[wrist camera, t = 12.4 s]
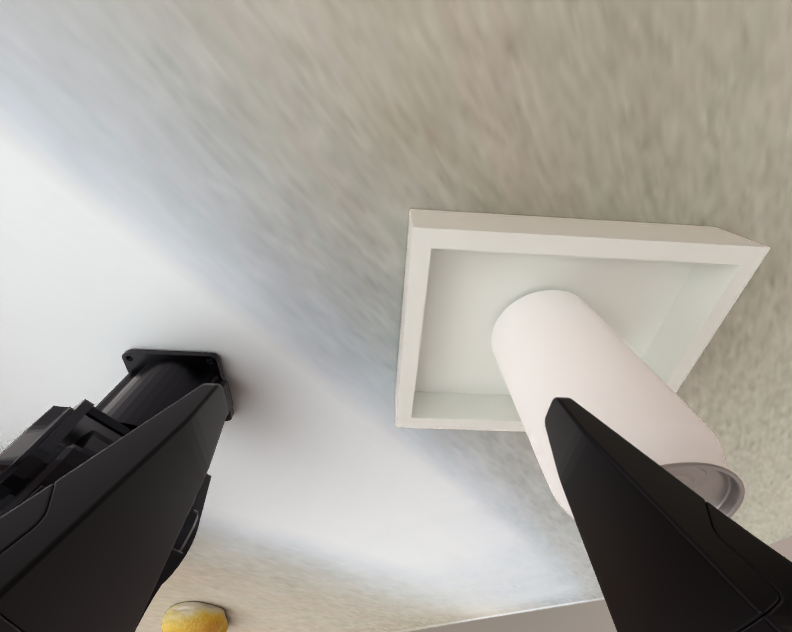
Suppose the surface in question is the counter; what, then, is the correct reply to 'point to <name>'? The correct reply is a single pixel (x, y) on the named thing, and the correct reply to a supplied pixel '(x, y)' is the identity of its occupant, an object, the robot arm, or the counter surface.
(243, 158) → the counter surface
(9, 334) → the counter surface
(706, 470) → the can
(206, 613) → the bread roll
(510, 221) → the tray
